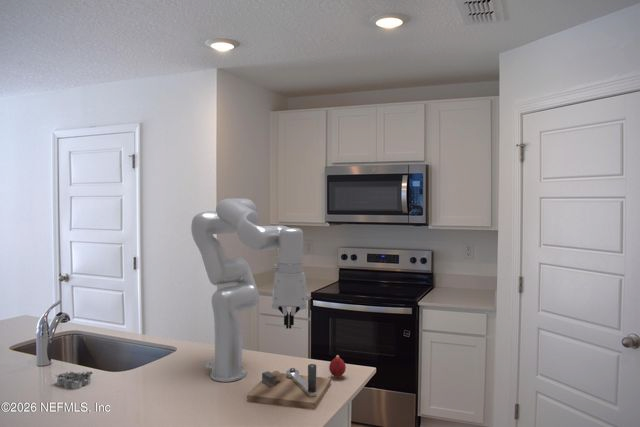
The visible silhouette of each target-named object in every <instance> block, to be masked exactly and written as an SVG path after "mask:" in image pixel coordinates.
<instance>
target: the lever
mask: <svg viewBox="0 0 640 427" xmlns="http://www.w3.org/2000/svg"><path fill="white" fill-rule="evenodd" d="M285 374H286V377H288V378H291V379H292V380H293V381H294V382H295V383H296V384H297V385H298V386H299V387H301V388H302V389H303V390H304V391H305V392H306V393H307V394H308V395H309V396H310V397H311V396H316V395H317V391H316V377H317V364H315V363H310V364H308V365H307V376H308V383H307V382H306V381H305V380H304V379H303V378H302V377H301V376H300V375H301V374H300V371H299V370H298V369H296V368H295V367H290V368H289V369H288V370H286V372H285Z"/></svg>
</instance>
